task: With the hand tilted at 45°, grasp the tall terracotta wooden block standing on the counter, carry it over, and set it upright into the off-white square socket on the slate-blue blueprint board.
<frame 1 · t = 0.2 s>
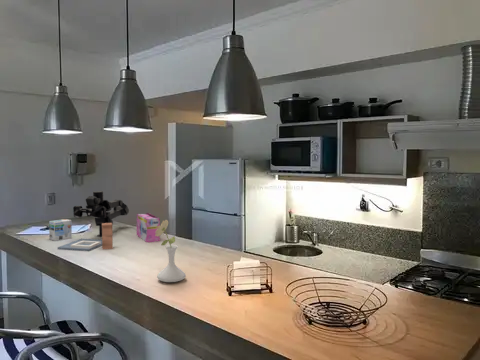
hand: (81, 214, 218), 17 cm above the countertop, tool horizontal, fingers open, 9 cm apart
light bulb box: (60, 239, 234), on the countertop
terracotta block: (107, 248, 213), on the countertop
flower in vase: (169, 281, 160), on the countertop
gum box: (147, 238, 239), on the countertop
blueprint board: (85, 245, 218), on the countertop
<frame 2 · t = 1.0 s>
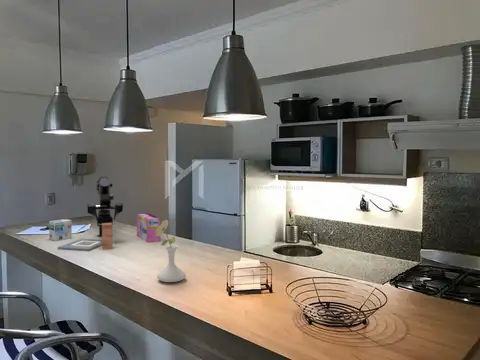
hand: (105, 219, 220), 14 cm above the countertop, tool tilted 45°, fingers open, 9 cm apart
nothing on the countertop moved.
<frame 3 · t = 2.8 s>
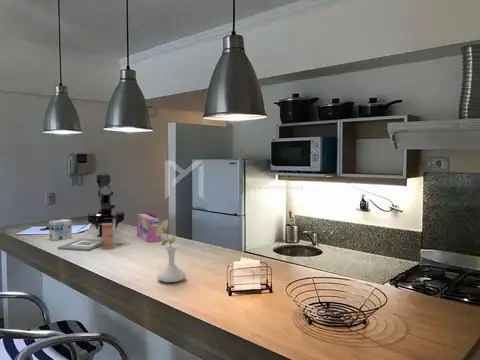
hand: (107, 229, 215), 10 cm above the countertop, tool tilted 45°, fingers open, 9 cm apart
nothing on the countertop moved.
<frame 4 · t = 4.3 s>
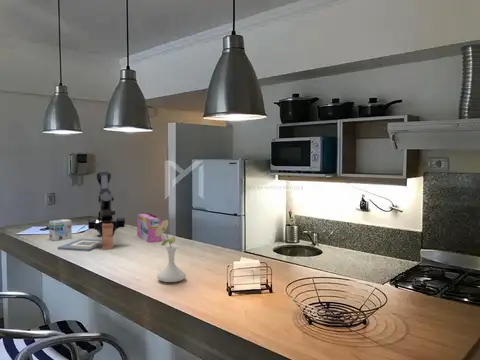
hand: (107, 236, 211), 7 cm above the countertop, tool tilted 45°, fingers closed on terracotta block, 5 cm apart
terracotta block: (107, 247, 213), on the countertop, touching gripper
everything else where it was.
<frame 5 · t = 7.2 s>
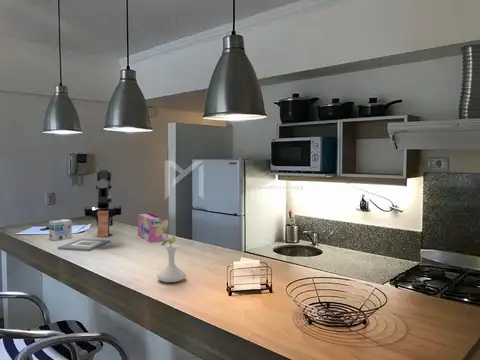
hand: (103, 223, 211), 13 cm above the countertop, tool tilted 45°, fingers closed on terracotta block, 5 cm apart
terracotta block: (102, 235, 213), point 7 cm above the countertop, touching gripper
when the fingers open (10 cm above the countertop, at t = 9.9 s): terracotta block drops 2 cm, resting on blueprint board.
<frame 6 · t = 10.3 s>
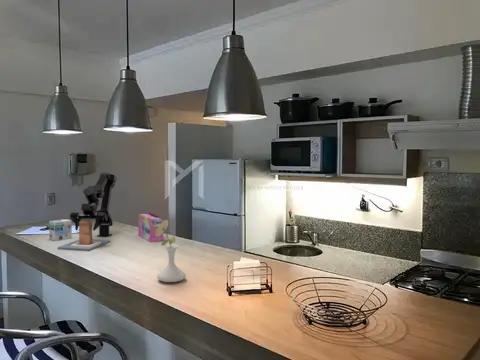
hand: (84, 230, 212), 10 cm above the countertop, tool tilted 45°, fingers open, 9 cm apart
terracotta block: (85, 245, 214), point 1 cm above the countertop, touching blueprint board
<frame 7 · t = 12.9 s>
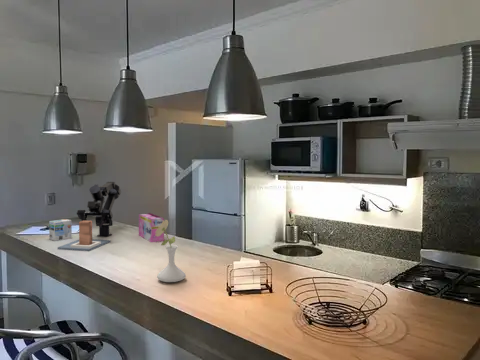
hand: (91, 226, 221), 10 cm above the countertop, tool tilted 45°, fingers open, 9 cm apart
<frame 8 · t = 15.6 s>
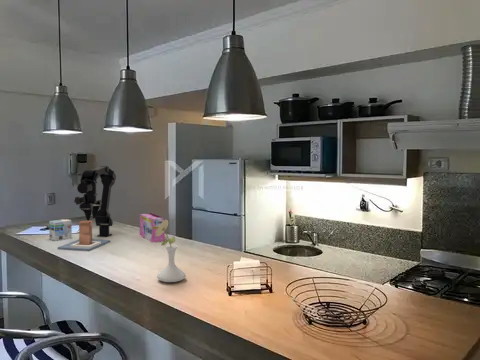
hand: (91, 219, 225), 13 cm above the countertop, tool pointing down, fingers open, 9 cm apart
at the end: terracotta block 0.0 cm from the target spot on the blueprint board, point 1.0 cm above the blueprint board's base; terracotta block tilted 0°; the gripper is holding nothing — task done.
